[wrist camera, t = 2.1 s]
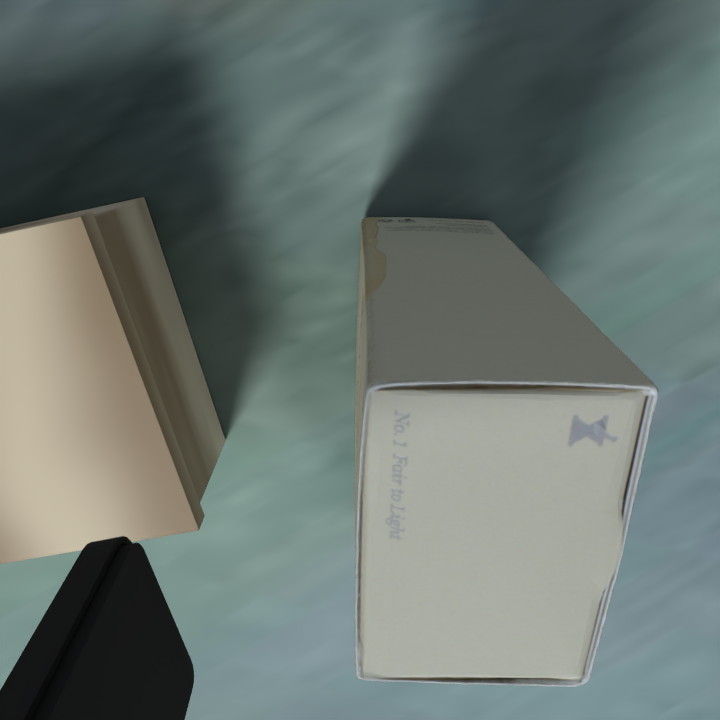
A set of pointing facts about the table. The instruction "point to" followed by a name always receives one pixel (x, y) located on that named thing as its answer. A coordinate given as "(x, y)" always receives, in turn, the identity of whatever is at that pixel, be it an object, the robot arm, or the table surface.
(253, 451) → the table surface
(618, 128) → the table surface
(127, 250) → the birch trinket box
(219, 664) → the table surface
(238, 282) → the table surface
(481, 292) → the skincare box
